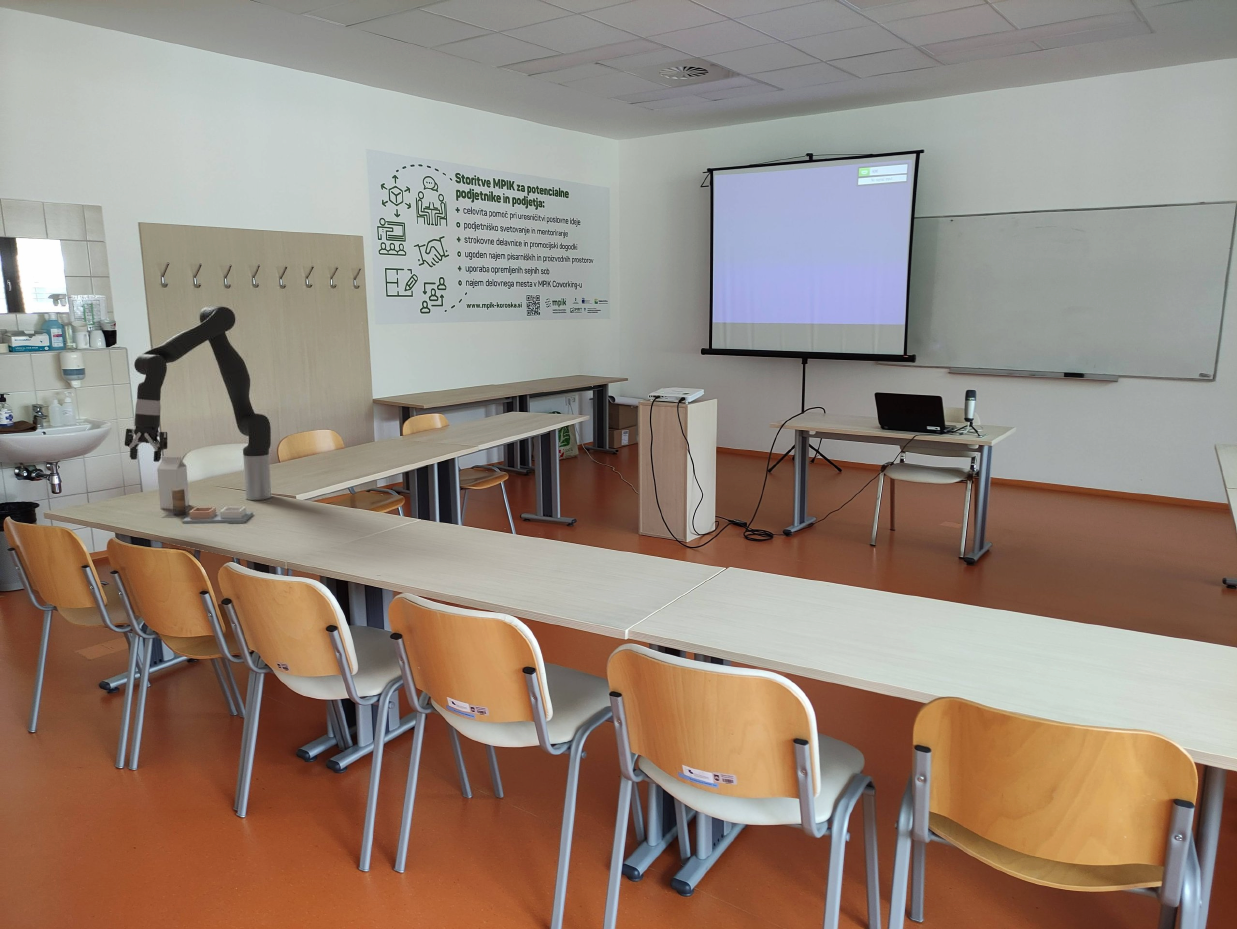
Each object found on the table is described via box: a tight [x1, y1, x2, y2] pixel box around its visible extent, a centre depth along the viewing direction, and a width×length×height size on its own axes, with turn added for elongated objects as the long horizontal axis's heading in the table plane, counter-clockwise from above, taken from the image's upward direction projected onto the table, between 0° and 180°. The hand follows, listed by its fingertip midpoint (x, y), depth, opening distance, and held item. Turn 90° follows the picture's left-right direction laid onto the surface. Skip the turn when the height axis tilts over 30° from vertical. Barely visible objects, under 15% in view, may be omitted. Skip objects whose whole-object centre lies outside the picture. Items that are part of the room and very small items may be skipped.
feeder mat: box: [161, 510, 191, 519], centre depth 303 cm, size 9×9×1 cm
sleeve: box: [172, 489, 187, 516], centre depth 302 cm, size 4×4×9 cm
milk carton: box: [156, 455, 190, 510], centre depth 313 cm, size 7×7×19 cm
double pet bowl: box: [181, 506, 254, 524], centre depth 298 cm, size 12×20×4 cm, turn 99°
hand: (145, 460), depth 290 cm, fingers open, 8 cm apart
